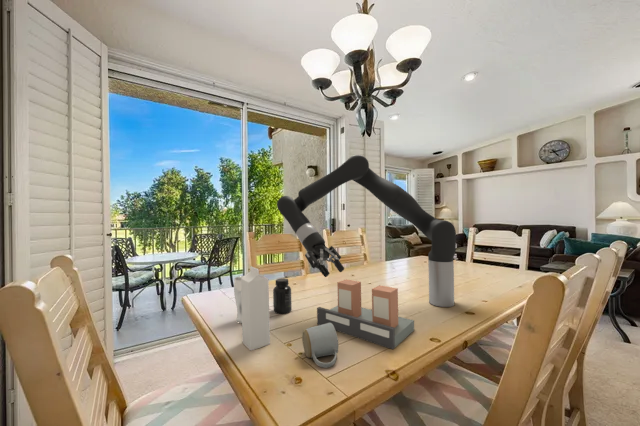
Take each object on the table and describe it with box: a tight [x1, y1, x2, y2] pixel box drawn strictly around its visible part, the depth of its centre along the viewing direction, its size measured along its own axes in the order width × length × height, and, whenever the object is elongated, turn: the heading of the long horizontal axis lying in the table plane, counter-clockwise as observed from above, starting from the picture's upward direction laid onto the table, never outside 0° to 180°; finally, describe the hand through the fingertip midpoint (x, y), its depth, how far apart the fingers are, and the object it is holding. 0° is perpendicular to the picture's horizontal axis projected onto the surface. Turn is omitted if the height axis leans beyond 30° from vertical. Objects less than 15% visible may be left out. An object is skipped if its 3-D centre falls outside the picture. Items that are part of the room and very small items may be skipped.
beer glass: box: [233, 275, 244, 324], centre depth 96 cm, size 7×7×15 cm
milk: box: [241, 265, 271, 352], centre depth 79 cm, size 6×6×22 cm
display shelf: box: [316, 305, 415, 350], centre depth 88 cm, size 16×27×6 cm, turn 50°
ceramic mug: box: [301, 323, 340, 369], centre depth 70 cm, size 11×8×8 cm
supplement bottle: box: [272, 277, 293, 315], centre depth 104 cm, size 7×7×12 cm
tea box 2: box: [371, 284, 399, 328], centre depth 82 cm, size 5×6×11 cm
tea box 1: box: [337, 278, 362, 317], centre depth 91 cm, size 5×6×11 cm
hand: (335, 273), depth 94 cm, fingers open, 8 cm apart
